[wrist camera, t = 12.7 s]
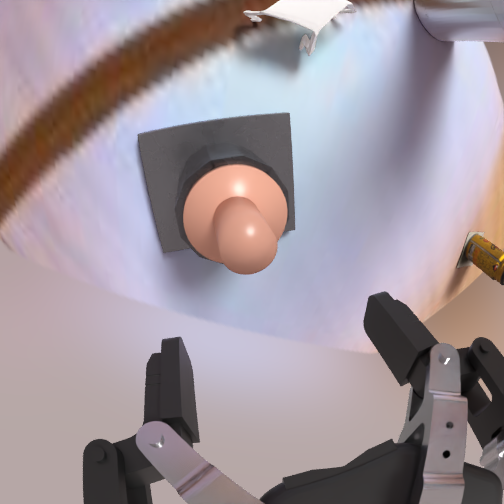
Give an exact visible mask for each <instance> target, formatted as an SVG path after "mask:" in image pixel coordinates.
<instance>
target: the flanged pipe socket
mask: <svg viewBox="0 0 504 504" xmlns="http://www.w3.org/2000/svg"><path fill="white" fill-rule="evenodd" d="M138 141H139V146H140V152H141V157H142V162H143V167H144V172H145V177H146V182H147V187H148V191H149V196H150V200H151V205H152V209H153V213H154V217H155V221H156V226H157V230H158V233H159V237H160V241H161V245H162V249H163V252H164V253H166V252H172V251H177V250H183V249H188V248H191V249H192V250H193V251H194V252H195V253H196V254H197V255H198V256H199V257H201V258H205V259H208V258H206V257H205V256H203V255H202V254H200V253H199V252H198V251H197V250H196V249H195V248H194V247H193V246H192V244H191V243H190V241H189V239H188V237H187V235H186V232H185V229H184V223H183V212H184V204H185V201H186V197H187V195H188V193H189V191H190V189H191V188H192V186H193V185H194V184H195V182H196V181H197V180H198V179H199V178H200V177H202V176H203V175H204V174H206V173H207V172H208V171H210V170H212V169H214V168H217V167H220V166H223V165H228V164H245V165H250V166H253V167H256V168H258V169H260V170H262V171H263V172H265V173H266V174H268V175H269V176H270V177H271V178H272V179H273V180H274V181H275V182H276V183H277V184H278V186H279V187H280V189H281V190H282V192H283V194H284V196H285V199H286V203H287V221H286V225H285V229H284V231H283V232H285V231H291V230H295V208H294V181H293V160H292V142H291V126H290V113H271V114H258V115H247V116H238V117H229V118H221V119H214V120H207V121H201V122H194V123H188V124H183V125H177V126H172V127H167V128H162V129H157V130H153V131H148V132H144V133H140V134H138ZM277 242H278V241H277ZM208 260H210V259H208ZM212 261H213V260H212ZM215 262H216V261H215ZM222 264H224V263H222Z"/></svg>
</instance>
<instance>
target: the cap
mask: <svg viewBox="0 0 504 504" xmlns="http://www.w3.org/2000/svg"><path fill="white" fill-rule="evenodd" d="M286 221H287V203H286V199H285V196H284V194H283V192H282V190H281V189H280V187H279V186H278V184H277V183H276V182H275V181H274V180H273V179H272V178H271V177H270V176H269V175H268V174H266V173H265V172H263V171H262V170H260V169H258V168H256V167H253V166H250V165H245V164H228V165H223V166H220V167H217V168H214V169H212V170H210V171H208V172H207V173H206V174H204V175H203V176H202V177H200V178H199V179H198V180H197V181H196V182H195V184H194V185H193V186H192V188H191V189H190V191H189V193H188V195H187V197H186V201H185V204H184V212H183V223H184V229H185V232H186V235H187V237H188V239H189V241H190V243H191V244H192V246H193V247H194V248H195V249H196V250H197V251H198V252H199V253H200V254H202V255H203V256H205V257H206V258H208V259H210V260H213V261H216V262H219V263H224V265H225V266H226V267H227V268H228V269H230V270H231V271H233V272H235V273H238V274H254V273H257V272H259V271H261V270H263V269H265V268H266V267H267V266H268V265H269V264H270V263H271V262H272V261H273V259H274V258H275V255H276V252H277V241H278V240H279V238H280V237H281V235H282V233H283V231H284V229H285V225H286Z"/></svg>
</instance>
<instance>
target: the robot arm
mask: <svg viewBox="0 0 504 504" xmlns="http://www.w3.org/2000/svg"><path fill="white" fill-rule="evenodd" d="M414 3H415V9H416V12H417V15H418V17H419V19H420V21H421V23H422V24H423V26H424V27H425V29H426V30H427V31H428V32H429V33H430V34H431V35H432V36H433V37H435V38H436V39H438V40H440V41H489V42H504V0H415V1H414ZM364 329H365V332H366V334H367V335H368V337H369V338H370V340H371V341H372V343H373V344H374V346H375V347H376V349H377V350H378V352H379V353H380V355H381V356H382V358H383V359H384V361H385V362H386V364H387V365H388V367H389V369H390V370H391V371H392V373H393V375H394V376H395V378H396V379H397V381H398V383H399V384H400V386H403V385H405V384H407V383H410V384H411V388H410V393H409V400H408V407H407V413H406V419H405V424H404V428H403V430H402V432H401V434H400V437H399V440H398V443H394V442H393V440H392V439H390V440H388V441H386V442H384V443H382V444H379V445H377V446H375V447H373V448H371V449H368V450H367V451H365V452H364V453H363V454H361V455H360V456H358V457H357V458H355V459H354V460H353V461H351V462H350V463H348V464H347V465H345V466H343V467H337V468H328V469H317V470H310V471H307V472H303V473H299V474H296V475H292V476H288V477H285V478H283V482H282V483H280V484H279V485H277V486H275V487H273V488H272V489H270V490H269V491H268V492H266V493H265V494H264V495H263V496H262V497H261V498H260V499H259V500H258V499H257V498H255V497H254V496H252V495H251V494H250V493H248V492H247V491H246V490H244V489H243V488H242V487H240V486H239V485H237V484H236V483H235V482H234V481H232V480H231V479H230V478H228V477H227V476H226V475H225V474H223V473H222V472H221V471H220V470H218V469H217V468H216V467H214V466H213V465H211V464H210V463H208V462H207V461H206V460H205V459H204V458H203V457H201V456H200V455H199V454H198V453H197V452H196V451H195V450H194V449H193V443H198V442H200V439H199V431H198V422H197V413H196V402H195V392H194V381H193V380H194V379H193V370H192V366H191V361H190V359H189V356H188V353H187V351H186V348H185V346H184V343H183V340H182V338H181V337H175V338H168V339H163V340H162V345H161V346H162V347H161V353H154V354H152V355H151V357H150V359H149V361H148V363H147V367H146V383H145V385H146V387H145V405H144V422H143V425H142V427H141V428H140V429H139V430H138V432H137V434H135V435H134V436H132V437H130V438H128V439H125V440H122V441H119V442H116V443H113V444H112V443H110V442H109V441H107V440H103V439H97V440H93V441H91V442H90V443H89V444H88V445H87V446H86V448H85V450H84V453H83V454H84V455H83V497H84V504H153V503H152V497H151V489H150V484H151V483H154V482H156V481H160V480H162V479H166V480H167V481H168V482H169V483H170V484H171V485H172V486H173V487H174V488H175V489H176V490H177V492H178V494H179V495H180V496H181V497H182V498H183V499H184V500H185V501H186V502H187V503H188V504H502V495H503V490H504V357H503V355H502V354H501V353H500V352H499V350H498V349H497V348H496V346H495V345H494V344H493V343H492V342H491V341H490V340H488V339H486V338H483V337H479V338H476V339H475V340H474V341H473V343H472V345H471V346H470V347H467V348H461V349H455V348H454V347H453V346H451V345H450V344H446V343H439V342H438V341H437V340H436V339H435V338H434V337H433V335H432V334H431V333H430V332H429V331H428V329H427V328H426V327H425V326H424V325H423V323H422V322H421V321H419V319H418V318H417V316H416V315H415V314H413V312H412V311H411V310H410V308H409V307H408V306H407V305H406V304H404V303H402V302H400V301H399V300H394V299H393V298H392V297H391V296H390V295H389V294H388V293H387V292H385V291H384V292H381V293H377V294H374V295H371V296H369V298H368V302H367V307H366V312H365V317H364ZM480 378H481V379H482V380H483V382H484V383H485V384H486V386H487V388H488V389H489V391H490V392H491V394H492V402H491V401H490V400H489V398H488V397H487V395H486V393H485V392H484V390H483V389H482V387H481V386H480V384H479V383H478V381H479V379H480ZM467 421H468V423H469V424H470V426H471V428H472V430H473V432H474V434H475V435H476V437H477V439H478V441H479V443H480V445H481V447H482V449H483V454H482V457H481V458H480V464H481V465H482V466H484V468H481V467H478V466H475V465H472V464H469V463H466V462H464V457H465V448H466V436H467Z"/></svg>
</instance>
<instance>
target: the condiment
mask: <svg viewBox="0 0 504 504" xmlns="http://www.w3.org/2000/svg"><path fill="white" fill-rule="evenodd" d="M484 233H485V232H469V235H468V237H467V240H466V243H465V245H464V248H463V252H462V255H461V258H460V260H459V264H458V266H457V268H460V267H465V266H472V265H473V264H475V265H476V266H477V267H478V268H480V269H481V270H482V271H483V272H484V273H486V274H487V275H488V276H489V277H490V278H492V279H493V280H497V281H498V282H500V284H501V285H504V252H503V251H502V250H501V249H499V248H498V247H496V246H495V245H494V244H492V243H491V242H489V241H488V240H487V239H485V238H484V237H483V235H484Z"/></svg>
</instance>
